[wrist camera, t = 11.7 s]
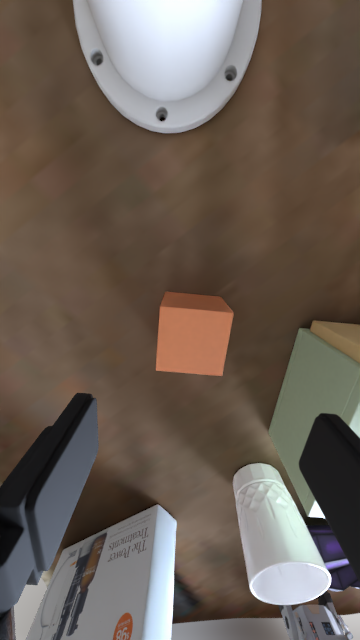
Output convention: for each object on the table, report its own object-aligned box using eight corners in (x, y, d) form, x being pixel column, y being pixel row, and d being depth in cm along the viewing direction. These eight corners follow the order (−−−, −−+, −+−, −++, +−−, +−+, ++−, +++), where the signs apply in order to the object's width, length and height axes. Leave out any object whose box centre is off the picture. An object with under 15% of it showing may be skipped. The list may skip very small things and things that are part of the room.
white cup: (290, 489, 31) (338, 596, 21) (238, 503, 32) (262, 611, 22) (275, 452, 28) (322, 554, 19) (220, 469, 30) (238, 573, 20)
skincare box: (156, 499, 32) (132, 726, 17) (177, 518, 33) (174, 743, 18) (59, 548, 36) (-29, 764, 21) (82, 563, 37) (15, 775, 22)
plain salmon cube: (165, 291, 21) (159, 306, 16) (220, 296, 22) (233, 312, 16) (161, 342, 23) (155, 370, 18) (212, 346, 23) (222, 376, 18)
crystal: (433, 562, 26) (273, 587, 25) (397, 596, 31) (262, 618, 30) (378, 494, 32) (250, 512, 31) (356, 531, 37) (244, 547, 36)
